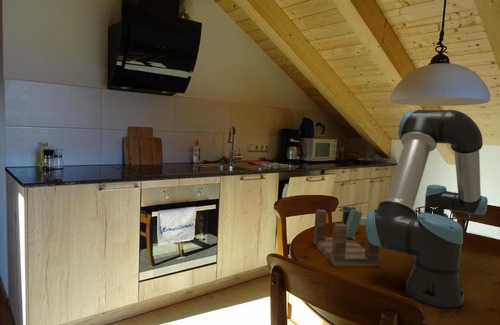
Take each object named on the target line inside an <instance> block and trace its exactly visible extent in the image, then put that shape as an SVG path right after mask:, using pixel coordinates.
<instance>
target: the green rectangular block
mask: <svg viewBox="0 0 500 325" xmlns="http://www.w3.org/2000/svg"><path fill="white" fill-rule="evenodd" d="M362 215H363V211H361V210H359V209H358V210H357V209H356V210H354V209H351V210H350V213H349V217H348V220H347V223H346V226H347V235H346V238H352V239H353V240H354V241H355V240H356V235H357V231H358V228H359V226H360V225H359V222H360V218H362Z"/></svg>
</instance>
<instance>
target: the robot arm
mask: <svg viewBox="0 0 500 325" xmlns="http://www.w3.org/2000/svg"><path fill="white" fill-rule="evenodd" d="M398 126H399V128H398V130H397V132H398V133H397V134H398V138H399V140H400V142H401V144H402V149H401V152H400V155H399V158H398V162H397V165H396V167H395V171H394V173H393V176H392V179H391V183H390V185H389V188H388V192H387V194H386V196H385V197H386V198H385V199H384V200H381V201H380V202H379V203H378V205H377V208H371V209H370V210H369V211H368V213H367V215H366V217H361V218H360V222H359V225H358V226H365V232H366V234H367V238H368V240H369V242H370V243H371V244H372V245H375V246H378V247H379V248H381V249H383V250H384V249H386V250H388V251H389V250H390V251H394V252H398V253H401V254H405V255H410V256H413V257H414V263H413V268H412V269H411V272H410V274H409V276H408V278H407V280H406V282H405V292H406V293H407V294H408V295H409V296H410V297H411V298H413V299H414V300H416V301H418V302H421V303H424V304H426V305H430V306H432V307H433V306H434V307H439V308H446V309H447V308H448V309H455V308H459V307H461V306H463V304H464V300H465V298H464V297H465V294H464V291H463V285H462V281H461V278H460V268H461V259H462V258H461V257H462V249H463V247H462V246H463V244H464V239H463V238H464V228H463V227H462V225H461V224H460V222H458V221H456V220H454V219H452V218H450V217H449V215H448V214H447V213H445V210H448V211H453V212H459V213H466V214H469V215H477V216H478V215H479V216H484V215H485V214H487V210H488V204H489V202H488V200H489V199H488V197H487V196H483V195H482V191H481V161H480V158H481V157H480V156H481V155H480V150H481V149H482V147H483V146H484V144H483V142H484V141H483V135H482V132H481V128H480V127H479V126H478V125H477V123H476V122H475V121H474V120H473V119H472V118H471V116H469V115H467V114H466V113H464V112H462V111H460V110H456V109H413V110H408V111H406V112H405V113H404V114H403V115H402V117H401V119H400V121H399V125H398ZM438 144H448V145H450V149H451V150H452V151H453V152H454V160H455V161H454V162H455V173H456V174H455V175H456V184H457V187H456V188H457V192H454V191H448V190H447V187H446V186H444V185H441V184H429V185H427V186H426V190H425V197H424V198H425V200H424V211H423V212H420V213H421V214H419V216H418V217H416V213H417V212H416V211H415V209H414V206H415V202H416V198H417V196H418V192H419V189H420V184H421V182H422V178H423V175H424V172H425V168H426V165H427V161H428V159H429V155H430V153H431V152H433V151H434V150H435V149H436V148H437V145H438ZM430 207H438V208H436V209H434V210H433V209H432V208H430ZM432 211H433V214H432ZM448 217H449V218H448Z"/></svg>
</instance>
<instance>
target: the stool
mask: <svg viewBox="0 0 500 325" xmlns="http://www.w3.org/2000/svg"><path fill="white" fill-rule="evenodd" d="M327 212H328V211H326V209H319V208H318V209H315V214H314V228H313V230H314V231H313V234H314V235H313V244H314V246H315V248H317V249H318V250H319V251H320V252H321V254H322V255H323V256H324V257H325V258H326V259H327V260H328V261H329V262H330V264H332V266H334V267H378V266H379V258H380V257H379V256H380V247H378V246H375V245H372V244H371V243H370V242H369V240H368V238H367V234H366V235H365V247H363V246H362V245H361V244H359V243H358V242H357V241H355V240H354V239H352V238H349V237H346V235H347V226H346V225H345V224H344V223H342V222H334V223H333V230H332V231H333V232H332V237H326V228H327V214H328V213H327Z"/></svg>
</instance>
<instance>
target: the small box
mask: <svg viewBox="0 0 500 325" xmlns="http://www.w3.org/2000/svg"><path fill="white" fill-rule="evenodd" d="M351 209H354V210H357V208H356V207H349V206H343V207H342V218H341V223H344V224H345V225H346V223H347V220H348V217H349V213H350V210H351Z"/></svg>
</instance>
